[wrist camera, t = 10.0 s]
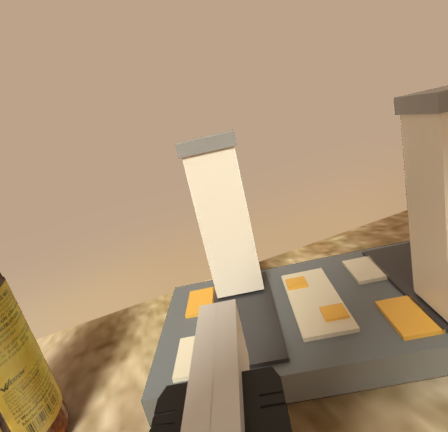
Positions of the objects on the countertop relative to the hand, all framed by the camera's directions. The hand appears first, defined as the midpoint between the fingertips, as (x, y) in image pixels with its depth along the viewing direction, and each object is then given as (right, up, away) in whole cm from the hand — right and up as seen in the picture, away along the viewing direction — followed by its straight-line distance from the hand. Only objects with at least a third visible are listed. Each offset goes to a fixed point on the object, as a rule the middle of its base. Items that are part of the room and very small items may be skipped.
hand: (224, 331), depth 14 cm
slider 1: (+1, -1, +16) cm, 16 cm away
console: (+7, -4, +12) cm, 15 cm away
